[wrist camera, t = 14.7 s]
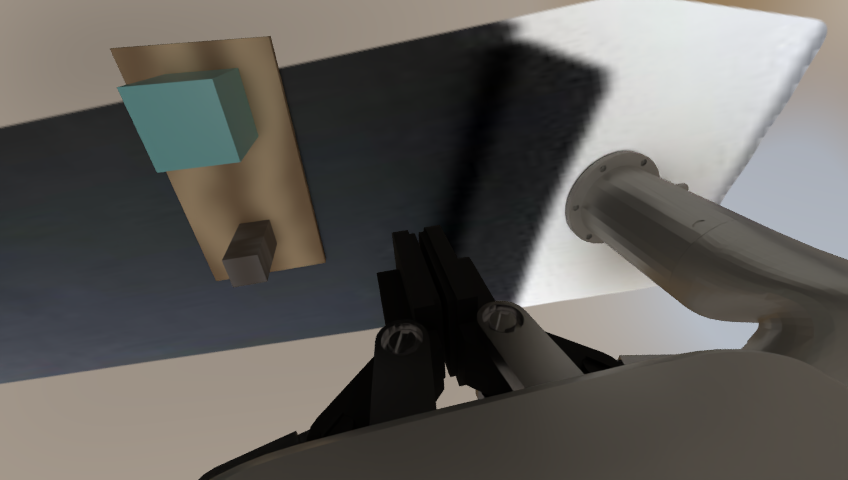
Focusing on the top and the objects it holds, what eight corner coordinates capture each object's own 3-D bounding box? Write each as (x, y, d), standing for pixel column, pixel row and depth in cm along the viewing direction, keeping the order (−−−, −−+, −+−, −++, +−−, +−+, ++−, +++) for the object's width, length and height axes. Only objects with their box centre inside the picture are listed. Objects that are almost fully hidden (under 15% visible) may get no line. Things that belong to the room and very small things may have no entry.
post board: (270, 36, 31) (252, 38, 24) (325, 258, 43) (324, 301, 36) (116, 47, 29) (50, 54, 22) (218, 275, 41) (195, 324, 34)
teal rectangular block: (237, 67, 31) (212, 78, 24) (258, 136, 34) (240, 162, 27) (164, 74, 30) (116, 87, 23) (192, 143, 33) (157, 172, 26)
